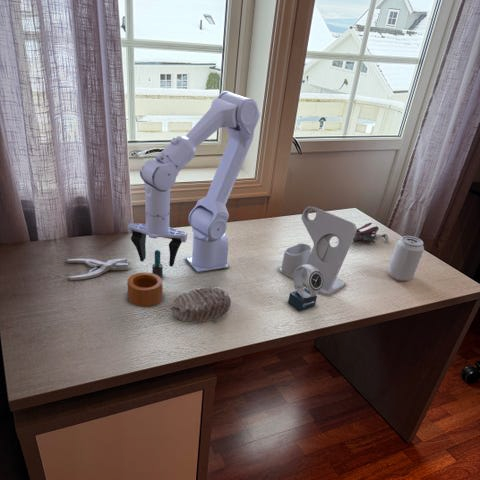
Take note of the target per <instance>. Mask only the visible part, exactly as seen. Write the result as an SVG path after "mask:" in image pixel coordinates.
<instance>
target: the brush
mask: <svg viewBox="0 0 480 480" xmlns="http://www.w3.org/2000/svg"><path fill="white" fill-rule="evenodd" d="M163 268H164V267H163V264H162V263H161V251H160V250H159V249H155V251H154V263H153V264H152V268H151V269H152V271H151V273H153V274H156V275H158V276H159V277H161V279H162V280H163V275H164V274H163Z"/></svg>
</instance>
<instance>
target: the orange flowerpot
mask: <svg viewBox="0 0 480 480" xmlns="http://www.w3.org/2000/svg"><path fill="white" fill-rule="evenodd" d="M126 282H127V283H126V284H127V285H126V286H127V299H128V301H129V302H130V303H131V304H132V305H134V306H138V307H152V306H156V305H158V304H159V303H161V301H162V300H163V287H164V286H163V278H162V279H161V277H159V276H158V275H156V274H153V273H152V272H137V273H134V274H132V275H130V276H129V277H128V278H127V281H126Z"/></svg>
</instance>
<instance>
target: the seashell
mask: <svg viewBox="0 0 480 480" xmlns="http://www.w3.org/2000/svg"><path fill="white" fill-rule="evenodd" d="M231 304H232V300H231V297H230V295H229V293H228V292H227V291H225V290H224V289H223V288H221V287H218V286H212V287H211V286H208V287H207V286H205V287H200V288H195V289H192V290H191V291H187V292H182V293H180V294H179V295H178V296H176V297H175V298H174V299H173V301H172V303H171V306H170V310H171V314H172V315H173V317H174V318H175V319H177V320H179V321H182V322H188V323H191V322H198V323H199V322H208V321H213V320H217V319H219V318H221V317H223V316H226V314H227V313H228V312H229V310H230V307H231Z"/></svg>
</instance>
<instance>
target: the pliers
mask: <svg viewBox="0 0 480 480" xmlns="http://www.w3.org/2000/svg"><path fill="white" fill-rule="evenodd" d="M66 260H67V264H86V265H87V266H89V267H91V269H90V270H89V271H88V272H87V273H83V274H77V275H69V276H68V280H69V281H79V280H87V279H92V278H95V277H98V276H100V275H102V274H104V273H107V272H108V271H126V270H127V271H128V270H129V263H128V258H126V257H124V258H113V259H107V262H106V261H101V260H99V259H93V258H84V257H83V258H69V259H66ZM98 267H100V268H98Z"/></svg>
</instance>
